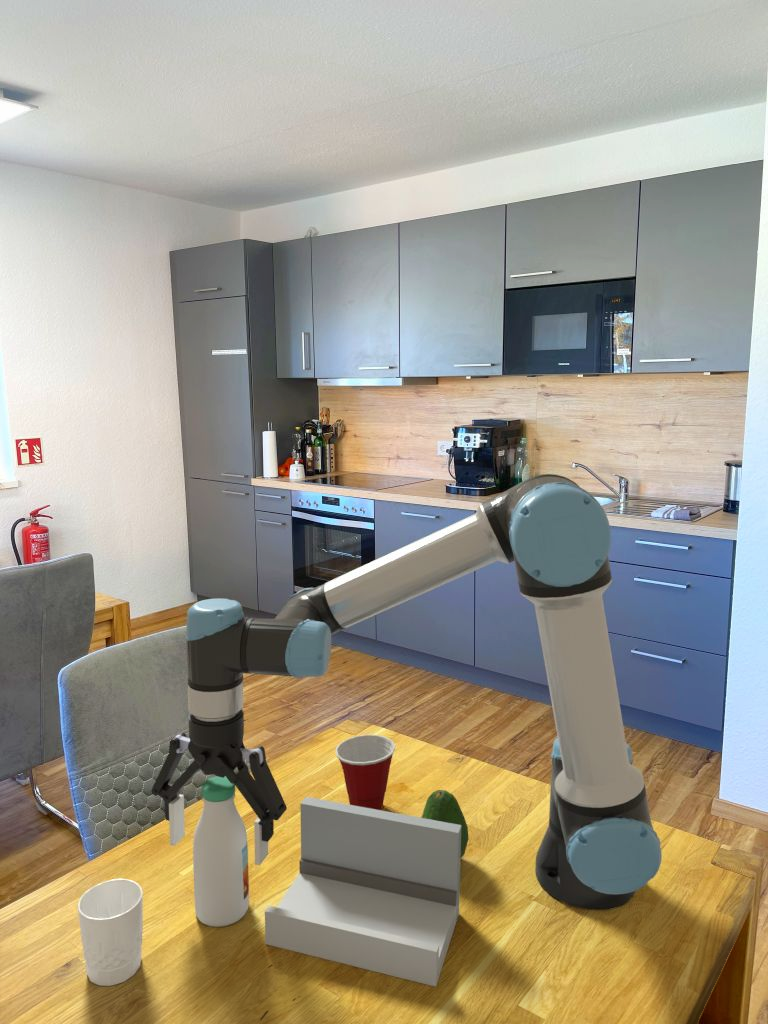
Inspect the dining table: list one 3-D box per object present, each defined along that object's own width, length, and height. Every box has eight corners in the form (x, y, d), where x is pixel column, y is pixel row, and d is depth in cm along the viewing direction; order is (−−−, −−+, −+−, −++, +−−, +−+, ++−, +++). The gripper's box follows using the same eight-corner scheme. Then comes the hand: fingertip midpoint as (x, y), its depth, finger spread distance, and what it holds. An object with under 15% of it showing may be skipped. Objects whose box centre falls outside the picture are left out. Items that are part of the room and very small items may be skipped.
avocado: (426, 842, 126) (427, 776, 124) (472, 853, 123) (474, 785, 121) (411, 871, 118) (412, 801, 116) (460, 882, 116) (462, 811, 114)
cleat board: (459, 913, 109) (461, 825, 107) (435, 986, 96) (438, 887, 93) (306, 880, 116) (305, 796, 114) (265, 944, 103) (263, 850, 100)
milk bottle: (237, 932, 105) (233, 800, 102) (185, 924, 106) (180, 794, 103) (257, 896, 112) (254, 772, 109) (208, 889, 114) (204, 766, 111)
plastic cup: (338, 791, 142) (338, 731, 140) (395, 792, 141) (396, 733, 139) (332, 824, 131) (331, 760, 129) (394, 825, 131) (394, 761, 129)
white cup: (124, 936, 104) (121, 870, 102) (158, 964, 99) (154, 895, 97) (70, 969, 98) (65, 900, 96) (103, 1001, 93) (98, 928, 91)
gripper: (309, 712, 104) (309, 851, 108) (154, 688, 111) (158, 819, 115) (286, 736, 97) (287, 884, 101) (122, 708, 104) (128, 847, 108)
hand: (218, 849), depth 108 cm, fingers open, 13 cm apart
